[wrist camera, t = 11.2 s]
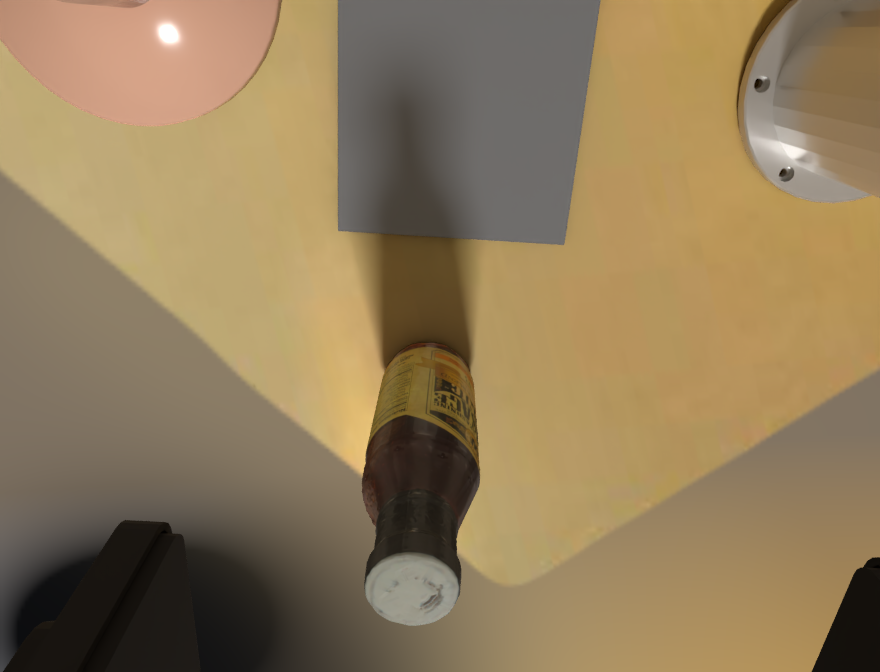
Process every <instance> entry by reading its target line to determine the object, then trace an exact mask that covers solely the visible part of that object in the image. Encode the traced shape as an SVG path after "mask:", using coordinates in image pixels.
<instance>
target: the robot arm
mask: <svg viewBox="0 0 880 672" xmlns="http://www.w3.org/2000/svg"><path fill="white" fill-rule="evenodd" d="M756 79H758V80H759V85H758V86H757V87H756V88H754V83H755V81H756ZM738 120H739V131H740V135H741V138H742V142H743V145H744V148H745V151H746V153H747V155H748V156H749V158H750V160H751V162H752V164H753V165H754V167H755V168H756V169H757V170H758V171H759V172H760V174H761V175H762V176H763V177H764V178H765V179H766V180H767V181H769V182H770V183H772V184H773V185H774V186H776V187H777V188H779V189H780V190H782V191H784V192H787V193H789V194H791V195H793V196H795V197H798V198H802V199H805V200H809V201H813V202H823V203H839V202H847V201H855V200H858V199H862V198H865V197H868V196H872V195H874V196H876V197H879V198H880V0H791V1H790V2H789V3H788V4H787V5H786V6H785V7H784V8H783V9H782V10H781V12H780V13H779V14H778V15H777V16H776V17H775V18H774V19H773V20H772V21H771V23H770V24H769V26H768V27H767V29H766V30H765V32H764V33H763V35H762V36H761V37H760V39H759V40H758V42H757V44H756V46H755V48H754V50H753V52H752V54H751V56H750V59H749V61H748V63H747V65H746V68H745V72H744V75H743V79H742V82H741V86H740V92H739V102H738ZM782 169H783V173H782V174H781V175H779V173H780V171H781V170H782ZM3 672H200V663H199V655H198V647H197V639H196V631H195V623H194V615H193V608H192V600H191V592H190V584H189V576H188V568H187V559H186V551H185V544H184V539H183V536H182V535H181V534H172V531H171V527H170V525H169V524H168V523H166V522H150V521H130V520H125V521H123V522H121V523H120V524H119V525H118V526H117V528H116V529H115V530H114V532H113V533H112V535H111V536H110V538H109V540H108V541H107V543H106V544H105V546H104V547H103V549H102V550H101V552H100V553H99V555H98V556H97V558H96V559H95V561H94V562H93V564H92V566H91V567H90V569H89V570H88V572H87V573H86V575H85V576H84V578H83V579H82V581H81V582H80V584H79V585H78V587H77V588H76V590H75V592H74V593H73V595H72V596H71V598H70V600H69V601H68V602H67V604H66V606H65V607H64V608H63V610H62V611H61V613H60V614H59V616H58V618H57V619H56V621H48V622H43V623H41V624H40V625H38V626H37V627H36V628H34V629H33V631H32V632H31V633H30V635H28V637H27V638H26V639H25V640H24V642H23V643H22V645H21V646H20V648H19V649H18V651H17V652H16V653H15V655H14V656H13V658H12V659H11V661H10V662H9V664H8V665H7V667H6V668H5V670H4V671H3ZM812 672H880V558H879V557H877V558H872V559H870V560H868V561H867V562H866V564H865V565H864V567H863V568H859V569H857V570H856V572H855V573H854V575H853V577H852V580H851V582H850V584H849V587H848V589H847V591H846V594H845V596H844V598H843V601H842V603H841V605H840V607H839V610H838V612H837V615H836V617H835V619H834V622H833V624H832V626H831V628H830V631H829V633H828V635H827V638H826V640H825V642H824V644H823V647H822V649H821V652H820V654H819V656H818V658H817V661H816V663H815V665H814V668H813V670H812Z"/></svg>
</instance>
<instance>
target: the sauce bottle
mask: <svg viewBox="0 0 880 672" xmlns="http://www.w3.org/2000/svg"><path fill="white" fill-rule="evenodd" d="M479 483H480V468H479V453H478V433H477V419H476V408H475V393H474V383H473V379H472V376H471V374H470V370H469V368H468V365H467V364H466V363H465V361H464V360H463V359H462V358H461V357H460V356H459V355H458V354H457V353H456V352H455V351H453V350H451V349H450V348H449V347H447V346H446V345H443V344H438V343H416V344H412V345H409V346H408V347H406V348H405V349H403V350H402V351H400V352H399V353H398V354H397V355H396V356H395V357H394V358H393V360H392V361H391V362H390V363H389V364H388V366H387V368H386V370H385V373H384V375H383V379H382V383H381V387H380V392H379V396H378V401H377V405H376V410H375V415H374V419H373V423H372V428H371V432H370V437H369V441H368V446H367V450H366V464H365V467H364V473H363V478H362V493H363V500H364V503H365V506H366V510H367V512H368V514H369V516H370V518H371V519H372V523H373V524H374V525H375V526H376V540H375V548H374V550H373V551H372V553H371V554H370V556H369V559H368V561H367V567H366V573H365V582H364V583H365V584H364V586H365V594H366V597H367V599H368V601H369V603H370V604H371V605H372V606H373V608H374V609H375V611H376V612H377V613H378V614H380V615H381V616H383V617H384V618H386V619H387V620H390V621H392V622H398V623H401V624H405V625H422V624H427V623H432V622H434V621H436V620H438V619H440V618H442V617H443V616H445V615H446V614H448V613H449V611H450V610H451V609H452V607H453V606H454V604H455V603H456V601H457V599H458V597H459V595H460V584H461V565H460V562H459V559H458V557H457V546H456V543H457V540H456V538H457V534H458V530H459V528H460V526H461V524H462V521H463V519H464V517H465V515H466V513H467V511H468V509H469V507H470V505H471V502H472V500H473V498H474V496H475V494H476V492H477V490H478V487H479Z"/></svg>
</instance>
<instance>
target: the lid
mask: <svg viewBox="0 0 880 672" xmlns="http://www.w3.org/2000/svg"><path fill="white" fill-rule="evenodd" d="M281 3H282V0H0V39H1V41H2V42H3V43H4V45H5V46H6V47H7V48H8V50H9V51H10V52H11V54H12V55H13V56H14V57H15V59H16V60H17V61H18V62H19V63H20V64H21V65H22V66H23V67H24V68H25V69H26V70H27V71H28V72H29V73H30V74H31V75H32V76H33V77H34V78H35V79H37V80H38V81H39V82H40V83H41V84H42V85H44V86H45V87H46V88H47V89H48V90H50V91H51V92H53V93H54V94H56V95H57V96H59V97H60V98H62V99H63V100H64V101H66V102H68V103H70V104H72V105H73V106H75V107H77V108H79V109H81V110H83V111H85V112H87V113H90V114H92V115H95V116H98V117H100V118H103V119H106V120H110V121H114V122H118V123H121V124H129V125H136V126H163V125H170V124H177V123H180V122H184V121H187V120H190V119H194V118H197V117H200V116H202V115H205V114H207V113H209V112H211V111H213V110H215V109H217V108H219V107H220V106H222V105H223V104H225V103H226V102H228V101H229V100H231V99H232V98H233V97H234V96H236V95H237V94H238V93H239V92H240V91H241V90H242V89H243V88H244V87H245V86H246V85H247V84H248V83H249V81H250V80H251V79H252V78H253V77H254V75H255V74H256V73H257V71H258V69H259V68H260V66H261V65H262V63H263V61H264V60H265V58H266V56H267V53H268V51H269V49H270V46H271V44H272V42H273V39H274V36H275V32H276V29H277V25H278V22H279V16H280V9H281Z"/></svg>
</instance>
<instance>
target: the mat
mask: <svg viewBox="0 0 880 672" xmlns="http://www.w3.org/2000/svg"><path fill="white" fill-rule="evenodd" d="M599 6H600V0H338V231H349V232H365V233H381V234H397V235H413V236H430V237H446V238H462V239H478V240H494V241H510V242H526V243H542V244H558V245H564V243H565V236H566V229H567V222H568V216H569V209H570V202H571V195H572V189H573V182H574V175H575V168H576V162H577V155H578V148H579V141H580V135H581V128H582V121H583V114H584V108H585V101H586V94H587V87H588V81H589V74H590V67H591V60H592V54H593V47H594V40H595V33H596V27H597V20H598V13H599Z"/></svg>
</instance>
